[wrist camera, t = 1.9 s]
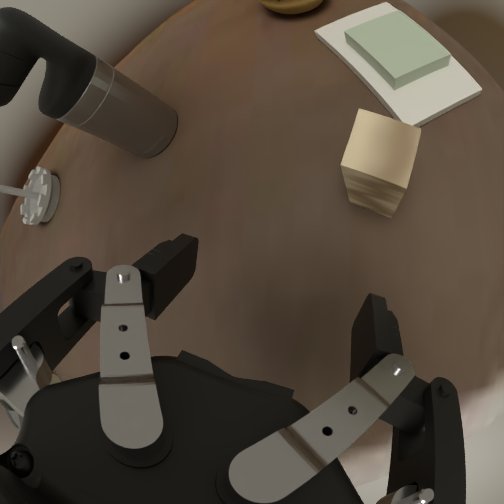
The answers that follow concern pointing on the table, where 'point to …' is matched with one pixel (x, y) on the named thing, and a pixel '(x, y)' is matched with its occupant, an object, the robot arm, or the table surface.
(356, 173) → the birch column
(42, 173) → the flag stand
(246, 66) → the table surface
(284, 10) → the pot
